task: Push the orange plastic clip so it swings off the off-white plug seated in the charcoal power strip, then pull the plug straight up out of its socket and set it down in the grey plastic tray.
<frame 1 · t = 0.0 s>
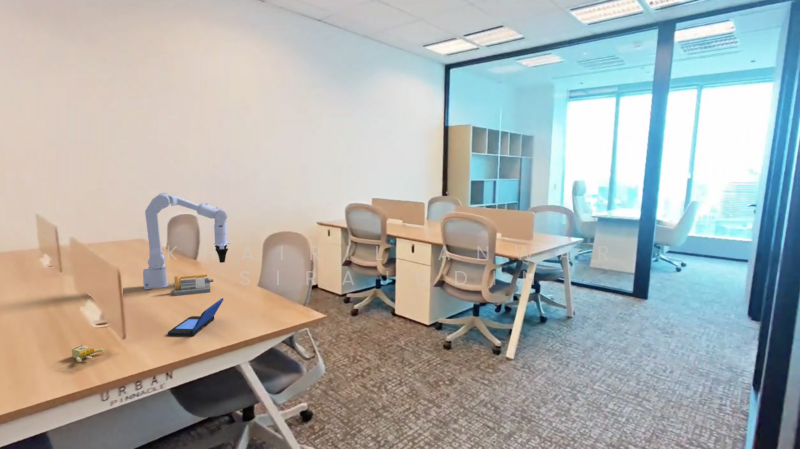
hand: (221, 260, 204), 10 cm above the table, tool pointing down, fingers open, 7 cm apart
clip: (191, 281, 185), point 5 cm above the table, hinge at 0.0°
character toy: (83, 362, 121), on the table
tray: (193, 285, 196), on the table
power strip: (193, 292, 186), on the table
plug: (200, 290, 187), touching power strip
handheld game console: (197, 328, 147), on the table
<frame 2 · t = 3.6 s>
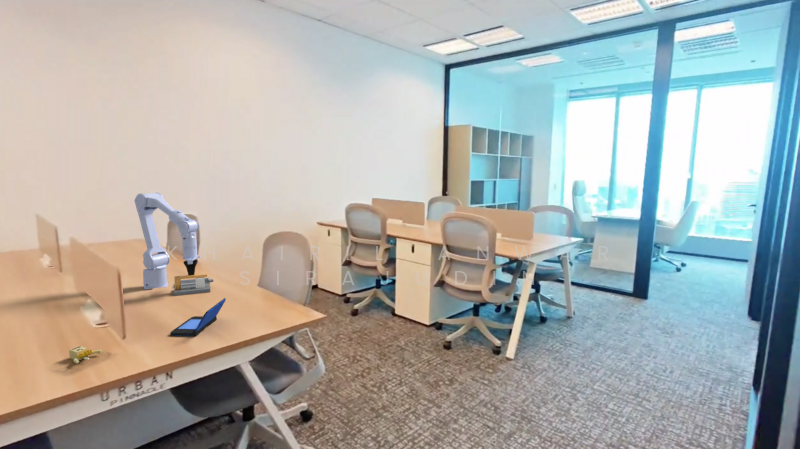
hand: (191, 276, 186), 7 cm above the table, tool pointing down, fingers closed, pressing on clip
clip: (191, 281, 185), point 5 cm above the table, hinge at -0.7°, touching gripper
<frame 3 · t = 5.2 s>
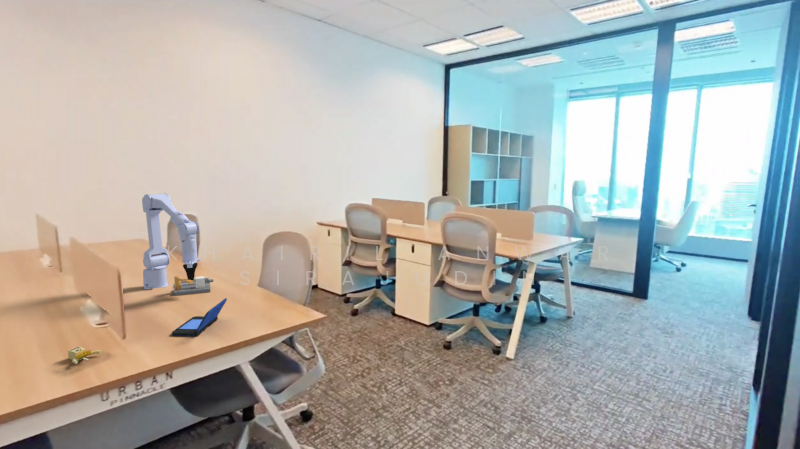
hand: (191, 280, 180), 7 cm above the table, tool pointing down, fingers closed, pressing on clip
clip: (184, 285, 180), point 5 cm above the table, hinge at -60.6°, touching gripper
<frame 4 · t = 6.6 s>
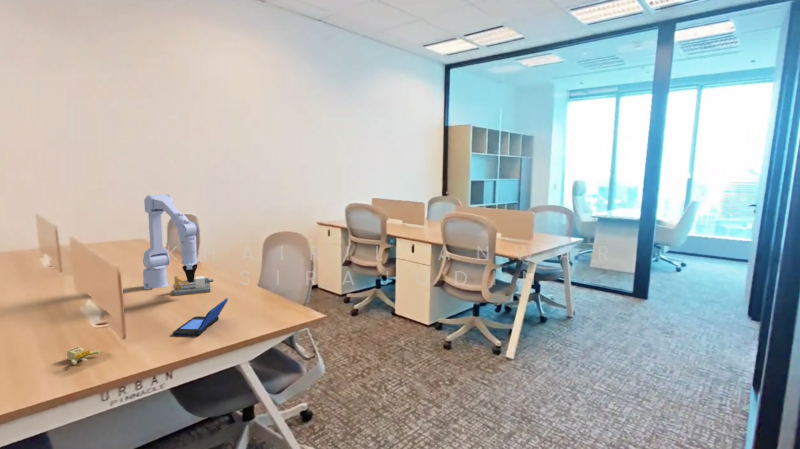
hand: (190, 282, 177), 7 cm above the table, tool pointing down, fingers closed
clip: (181, 285, 179), point 5 cm above the table, hinge at -70.2°
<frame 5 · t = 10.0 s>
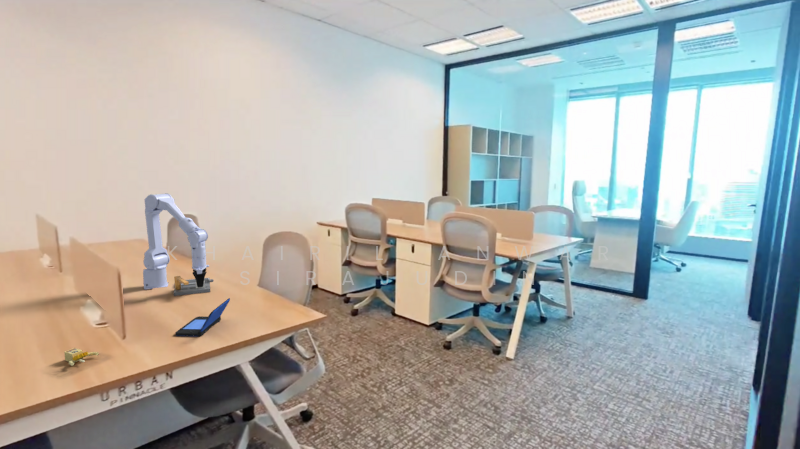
hand: (200, 285, 187), 3 cm above the table, tool pointing down, fingers closed on plug, 4 cm apart
plug: (200, 290, 187), touching gripper, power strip
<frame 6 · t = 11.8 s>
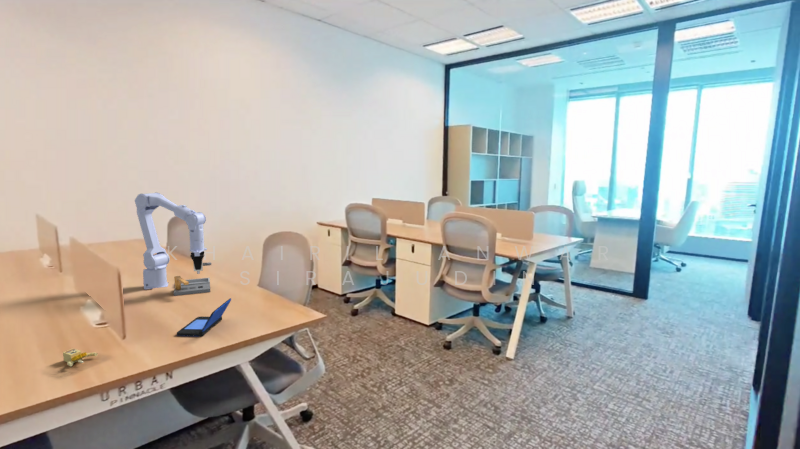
hand: (198, 268, 187), 10 cm above the table, tool pointing down, fingers closed on plug, 4 cm apart
plug: (198, 273, 188), point 8 cm above the table, touching gripper
when the fingers open (4 cm above the table, at t = 13.9 s): plug drops 2 cm, resting on tray.
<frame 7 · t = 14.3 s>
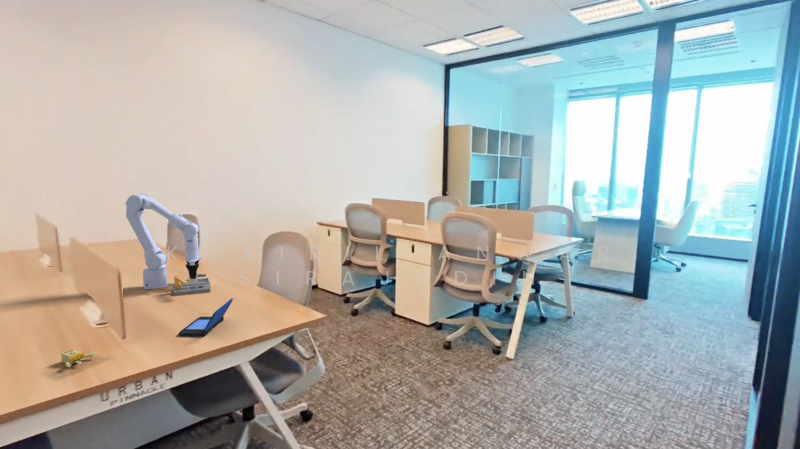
hand: (193, 276, 196), 4 cm above the table, tool pointing down, fingers open, 7 cm apart
plug: (193, 284, 196), resting on tray
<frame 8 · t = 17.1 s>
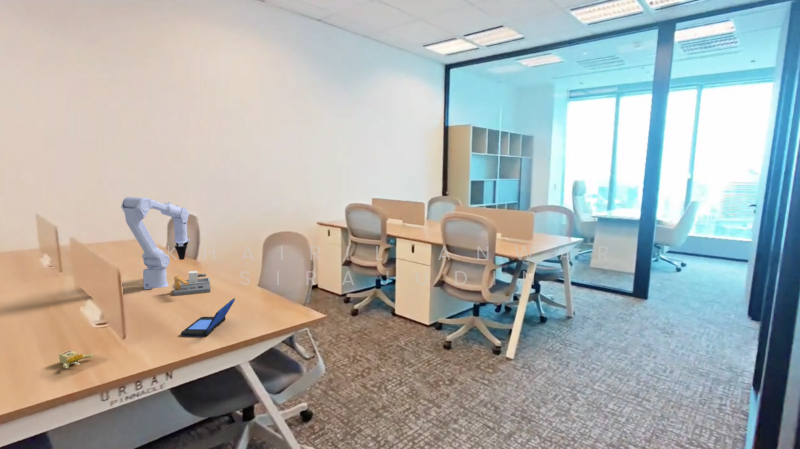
hand: (182, 257, 207), 10 cm above the table, tool pointing down, fingers open, 7 cm apart
at the end: clip at -70° (first picture: +0°); plug inside the target area (0.0 cm from its centre), point 0.5 cm above the table; the gripper is holding nothing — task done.
